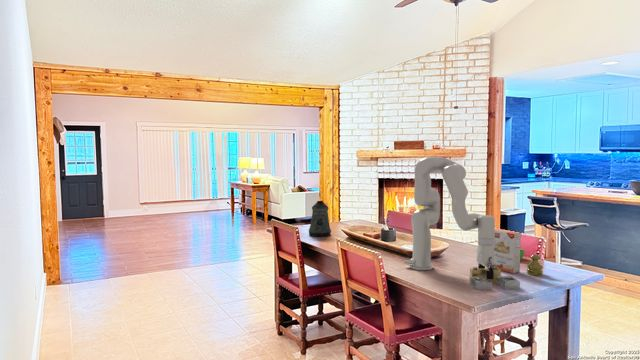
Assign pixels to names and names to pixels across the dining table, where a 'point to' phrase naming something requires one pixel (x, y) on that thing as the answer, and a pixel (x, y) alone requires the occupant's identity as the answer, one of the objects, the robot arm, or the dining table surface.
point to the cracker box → (507, 250)
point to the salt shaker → (535, 266)
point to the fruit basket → (521, 252)
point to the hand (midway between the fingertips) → (485, 276)
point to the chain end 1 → (480, 283)
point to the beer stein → (320, 221)
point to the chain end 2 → (507, 282)
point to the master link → (484, 273)
